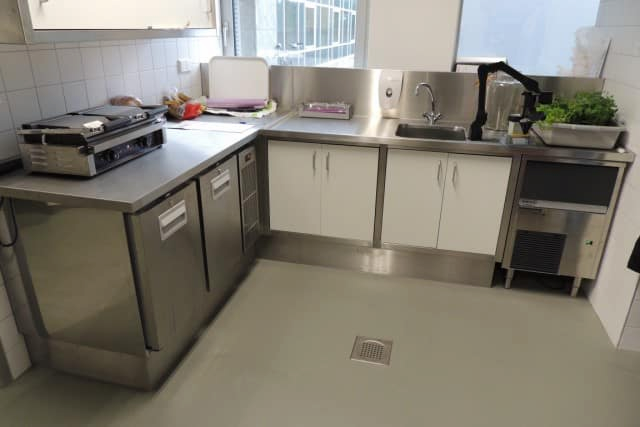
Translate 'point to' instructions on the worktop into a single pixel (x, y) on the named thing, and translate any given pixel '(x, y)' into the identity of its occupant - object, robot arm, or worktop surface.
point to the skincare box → (514, 127)
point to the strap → (517, 135)
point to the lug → (530, 139)
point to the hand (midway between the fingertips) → (524, 134)
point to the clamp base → (514, 141)
